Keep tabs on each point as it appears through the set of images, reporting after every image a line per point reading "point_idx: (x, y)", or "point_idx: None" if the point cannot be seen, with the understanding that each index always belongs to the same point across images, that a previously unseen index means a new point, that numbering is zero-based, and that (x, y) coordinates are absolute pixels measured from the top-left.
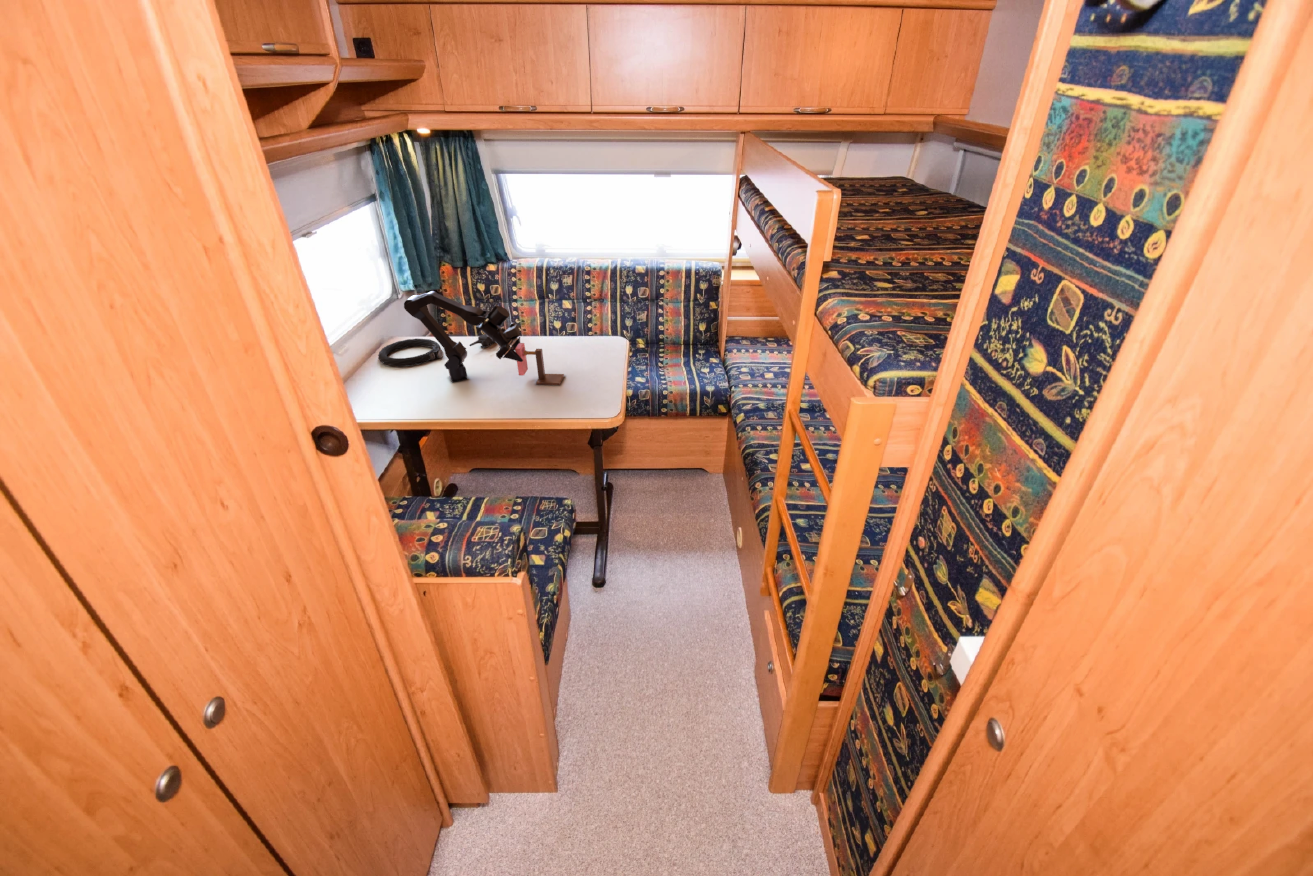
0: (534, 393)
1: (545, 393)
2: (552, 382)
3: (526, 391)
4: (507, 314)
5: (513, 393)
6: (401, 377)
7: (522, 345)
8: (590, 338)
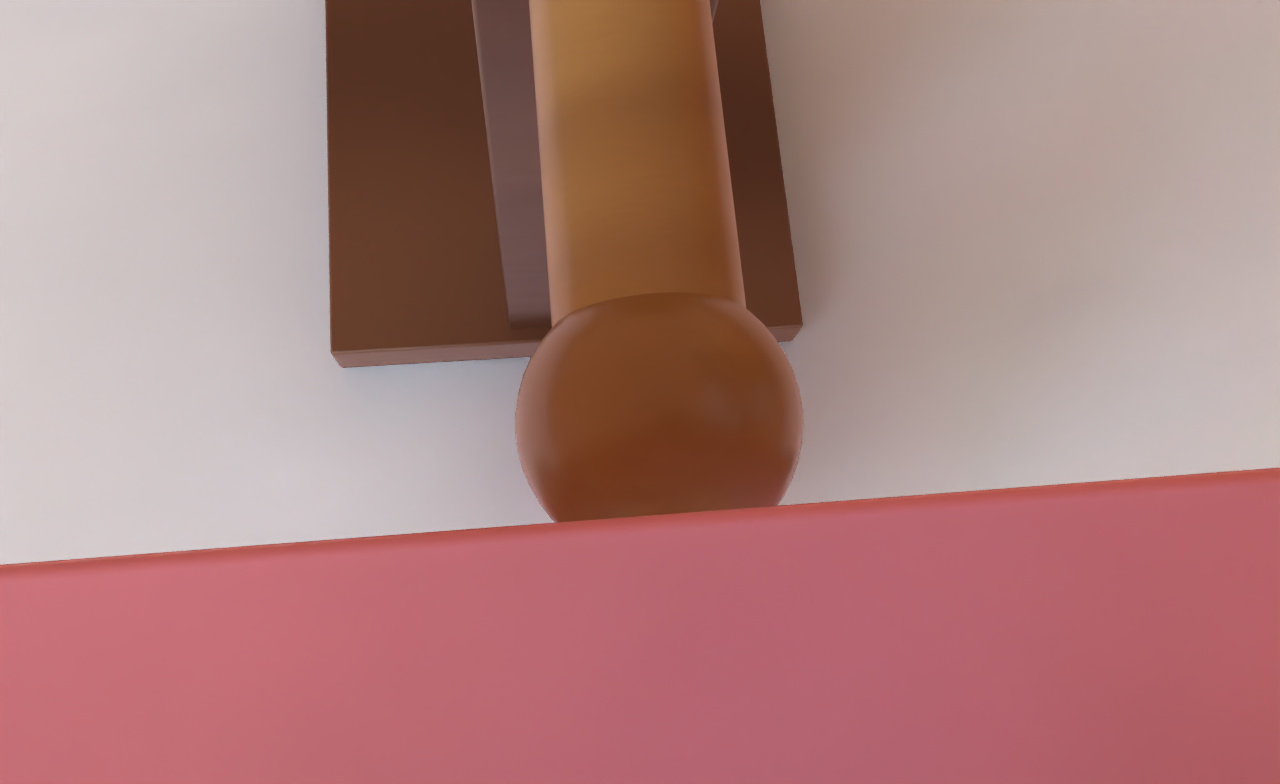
0: (1143, 266)
1: (1092, 78)
2: (740, 14)
3: (1107, 442)
4: None
5: None
6: None
7: (622, 529)
8: None
